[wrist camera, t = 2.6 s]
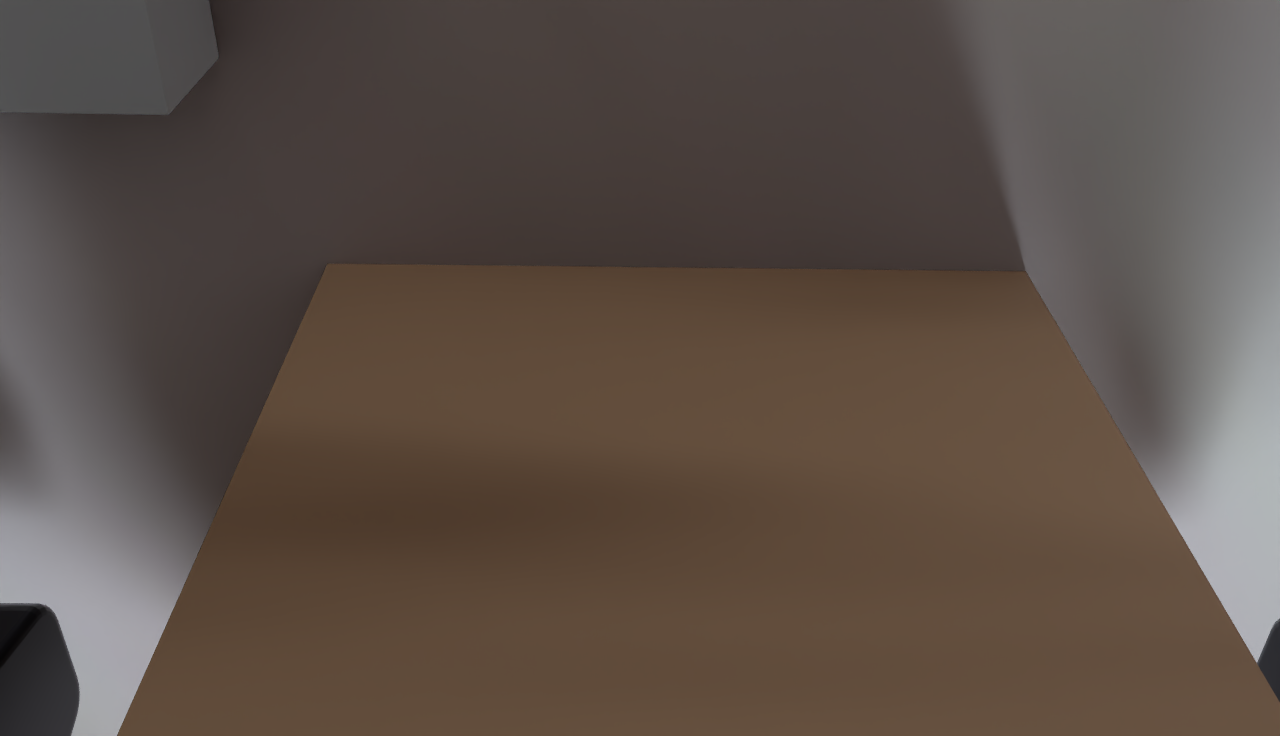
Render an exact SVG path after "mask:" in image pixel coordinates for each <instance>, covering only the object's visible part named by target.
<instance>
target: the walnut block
mask: <svg viewBox="0 0 1280 736" xmlns="http://www.w3.org/2000/svg"><path fill="white" fill-rule="evenodd" d="M117 736H1280V702H1279V700H1278V699H1277V697H1276V695H1275V693H1274V692H1273V690H1272V688H1271V687H1270V685H1269V683H1268V682H1267V680H1266V678H1265V676H1264V675H1263V673H1262V671H1261V670H1260V668H1259V666H1258V665H1257V663H1256V661H1255V660H1254V658H1253V656H1252V654H1251V653H1250V651H1249V649H1248V648H1247V646H1246V644H1245V643H1244V641H1243V639H1242V637H1241V636H1240V634H1239V632H1238V631H1237V629H1236V627H1235V626H1234V624H1233V622H1232V621H1231V619H1230V617H1229V615H1228V614H1227V612H1226V610H1225V609H1224V607H1223V605H1222V604H1221V602H1220V600H1219V598H1218V597H1217V595H1216V593H1215V592H1214V590H1213V588H1212V587H1211V585H1210V583H1209V581H1208V580H1207V578H1206V576H1205V575H1204V573H1203V571H1202V570H1201V568H1200V566H1199V565H1198V563H1197V561H1196V559H1195V558H1194V556H1193V554H1192V553H1191V551H1190V549H1189V548H1188V546H1187V544H1186V542H1185V541H1184V539H1183V537H1182V536H1181V534H1180V532H1179V531H1178V529H1177V527H1176V525H1175V524H1174V522H1173V520H1172V519H1171V517H1170V515H1169V514H1168V512H1167V510H1166V509H1165V507H1164V505H1163V503H1162V502H1161V500H1160V498H1159V497H1158V495H1157V493H1156V492H1155V490H1154V488H1153V486H1152V485H1151V483H1150V481H1149V480H1148V478H1147V476H1146V475H1145V473H1144V471H1143V470H1142V468H1141V466H1140V464H1139V463H1138V461H1137V459H1136V458H1135V456H1134V454H1133V453H1132V451H1131V449H1130V447H1129V446H1128V444H1127V442H1126V441H1125V439H1124V437H1123V436H1122V434H1121V432H1120V430H1119V429H1118V427H1117V425H1116V424H1115V422H1114V420H1113V419H1112V417H1111V415H1110V414H1109V412H1108V410H1107V408H1106V407H1105V405H1104V403H1103V402H1102V400H1101V398H1100V397H1099V395H1098V393H1097V391H1096V390H1095V388H1094V386H1093V385H1092V383H1091V381H1090V380H1089V378H1088V376H1087V375H1086V373H1085V371H1084V369H1083V368H1082V366H1081V364H1080V363H1079V361H1078V359H1077V358H1076V356H1075V354H1074V352H1073V351H1072V349H1071V347H1070V346H1069V344H1068V342H1067V341H1066V339H1065V337H1064V335H1063V334H1062V332H1061V330H1060V329H1059V327H1058V325H1057V324H1056V322H1055V320H1054V319H1053V317H1052V315H1051V313H1050V312H1049V310H1048V308H1047V307H1046V305H1045V303H1044V302H1043V300H1042V298H1041V296H1040V295H1039V293H1038V291H1037V290H1036V288H1035V286H1034V285H1033V283H1032V281H1031V280H1030V278H1029V276H1028V274H1027V273H1026V271H955V270H865V269H775V268H686V267H596V266H507V265H417V264H327V266H326V268H325V270H324V272H323V275H322V277H321V279H320V281H319V284H318V286H317V288H316V290H315V293H314V295H313V297H312V299H311V302H310V304H309V306H308V308H307V311H306V313H305V315H304V317H303V320H302V322H301V324H300V326H299V329H298V331H297V333H296V335H295V337H294V340H293V342H292V344H291V346H290V349H289V351H288V353H287V355H286V358H285V360H284V362H283V364H282V367H281V369H280V371H279V373H278V376H277V378H276V380H275V382H274V385H273V387H272V389H271V391H270V394H269V396H268V398H267V400H266V403H265V405H264V407H263V409H262V412H261V414H260V416H259V418H258V421H257V423H256V425H255V427H254V429H253V432H252V434H251V436H250V438H249V441H248V443H247V445H246V447H245V450H244V452H243V454H242V456H241V459H240V461H239V463H238V465H237V468H236V470H235V472H234V474H233V477H232V479H231V481H230V483H229V486H228V488H227V490H226V492H225V495H224V497H223V499H222V501H221V504H220V506H219V508H218V510H217V513H216V515H215V517H214V519H213V521H212V524H211V526H210V528H209V530H208V533H207V535H206V537H205V539H204V542H203V544H202V546H201V548H200V551H199V553H198V555H197V557H196V560H195V562H194V564H193V566H192V569H191V571H190V573H189V575H188V578H187V580H186V582H185V584H184V587H183V589H182V591H181V593H180V596H179V598H178V600H177V602H176V605H175V607H174V609H173V611H172V613H171V616H170V618H169V620H168V622H167V625H166V627H165V629H164V631H163V634H162V636H161V638H160V640H159V643H158V645H157V647H156V649H155V652H154V654H153V656H152V658H151V661H150V663H149V665H148V667H147V670H146V672H145V674H144V676H143V679H142V681H141V683H140V685H139V688H138V690H137V692H136V694H135V696H134V699H133V701H132V703H131V705H130V708H129V710H128V712H127V714H126V717H125V719H124V721H123V723H122V726H121V728H120V730H119V732H118V735H117Z"/></svg>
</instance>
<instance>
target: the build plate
mask: <svg viewBox="0 0 1280 736" xmlns="http://www.w3.org/2000/svg"><path fill="white" fill-rule="evenodd" d="M218 58H219V54H218V49H217V43H216V37H215V32H214V26H213V20H212V14H211V9H210V3H209V0H0V112H1V113H69V114H137V115H169V114H170V113H171V112H172V111H173V110H174V108H175V107H176V106H177V105H178V104H179V103H180V102H181V101H182V99H183V98H184V97H185V96H186V95H187V94H188V93H189V91H190V90H191V89H192V88H193V87H194V86H195V85H196V83H197V82H198V81H199V80H200V79H201V78H202V77H203V75H204V74H205V73H206V72H207V71H208V70H209V69H210V68H211V66H212V65H213V64H214V63H215V62H216V61H217V60H218Z"/></svg>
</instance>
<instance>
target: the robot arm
mask: <svg viewBox="0 0 1280 736" xmlns="http://www.w3.org/2000/svg"><path fill="white" fill-rule="evenodd" d="M1257 665H1258V666H1259V668H1260V670H1261V671H1262V673H1263V675H1264V676H1265V678H1266V680H1267V682H1268V683H1269V685H1270V687H1271V688H1272V690H1273V692H1274V693H1275V695H1276V697H1277V699H1278V700H1279V702H1280V619H1279V620H1278V621H1276V622H1275V624H1274V625H1273V627H1272V629H1271V631H1270V634H1269V636H1268V639H1267V641H1266V643H1265V646H1264V648H1263V650H1262V653H1261V655H1260V657H1259V660H1258V662H1257ZM79 693H80V692H79V683H78V679H77V675H76V672H75V669H74V666H73V663H72V661H71V658H70V655H69V652H68V649H67V646H66V643H65V640H64V637H63V634H62V631H61V628H60V625H59V622H58V619H57V617H56V615H55V613H54V612H53V611H52V610H51V609H50V608H49V607H48V606H46V605H42V604H32V603H0V736H71V734H72V730H73V727H74V724H75V720H76V716H77V712H78V707H79Z"/></svg>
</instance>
